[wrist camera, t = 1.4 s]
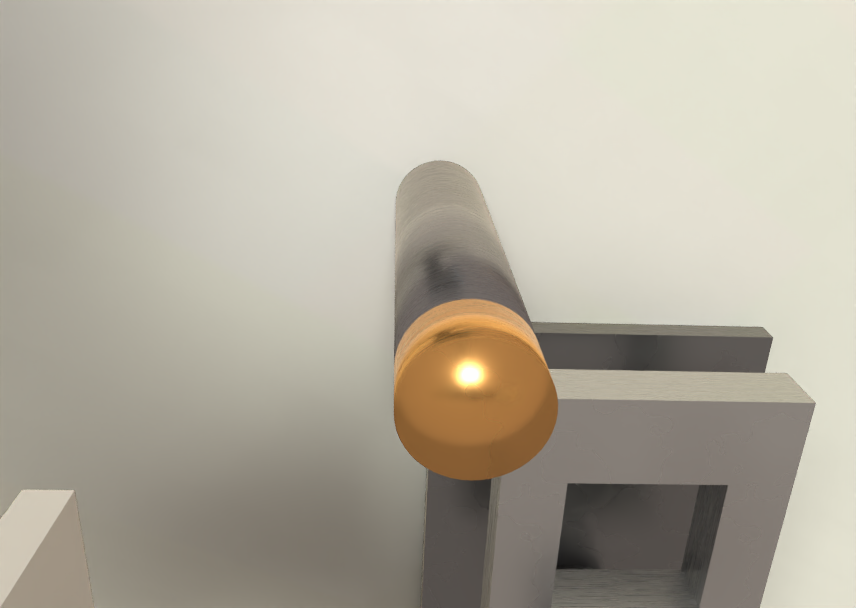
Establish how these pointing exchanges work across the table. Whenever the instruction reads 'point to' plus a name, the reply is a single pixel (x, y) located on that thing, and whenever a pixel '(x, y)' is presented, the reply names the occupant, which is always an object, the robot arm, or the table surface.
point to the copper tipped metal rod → (462, 335)
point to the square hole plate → (631, 479)
